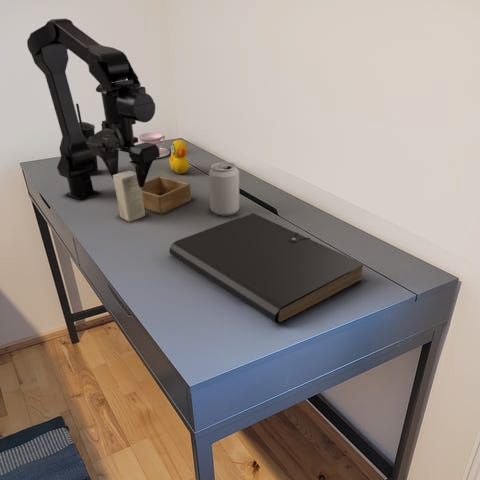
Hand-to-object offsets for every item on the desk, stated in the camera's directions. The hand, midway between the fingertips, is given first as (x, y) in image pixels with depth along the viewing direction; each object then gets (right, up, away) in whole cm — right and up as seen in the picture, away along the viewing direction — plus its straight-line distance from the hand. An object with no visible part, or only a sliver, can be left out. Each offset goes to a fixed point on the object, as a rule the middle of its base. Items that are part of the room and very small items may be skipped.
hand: (128, 183), depth 117 cm
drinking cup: (-20, +13, +33) cm, 40 cm away
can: (+23, -5, +8) cm, 25 cm away
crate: (+6, -1, +13) cm, 15 cm away
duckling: (+9, +12, +33) cm, 36 cm away
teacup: (-3, +24, +49) cm, 55 cm away
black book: (+32, -23, -17) cm, 43 cm away
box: (0, -7, +5) cm, 9 cm away
